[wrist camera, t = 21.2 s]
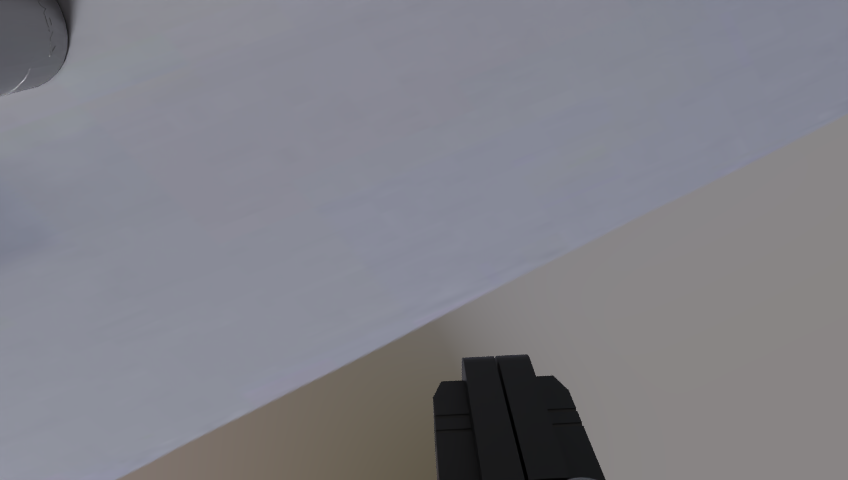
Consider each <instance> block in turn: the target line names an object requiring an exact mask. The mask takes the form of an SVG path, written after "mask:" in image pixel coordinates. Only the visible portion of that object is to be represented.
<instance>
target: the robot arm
mask: <svg viewBox="0 0 848 480" xmlns="http://www.w3.org/2000/svg"><path fill="white" fill-rule="evenodd" d="M67 42H68V35H67V29H66V23H65V20H64V17H63V14H62V11H61V9H60V7H59V5H58V3H57V1H56V0H0V96H4V95H7V94H11V93H15V92H19V91H23V90H27V89H30V88H34V87H38V86H40V85H42V84H44V83H46V82H48V81H49V80H50V79H51V78H52V77H53V76H55V75H56V74H57V73H58V71H59V69H60V68H61V66H62V64H63V63H64V59H65V56H66V52H67ZM433 405H434V406H433V407H434V431H435V432H434V433H435V452H436V453H435V454H436V468H437V480H605V477H604V475H603V473H602V470H601V468H600V465H599V463H598V460H597V458H596V456H595V453H594V451H593V448H592V446H591V443H590V441H589V439H588V436H587V434H586V431H585V429H584V426H582V422H581V419H580V417H579V414H578V412H577V411H576V407H575V405H574V402H573V400H572V397H571V395H570V393H569V390H568V389H567V388H566V387H564V386H563V385H562V384H561V383H560V382H559V381H558V380H557V379H556V378H555V377H554V376H537V377H536V375H535V372H534V369H533V367H532V364H531V361H530V358H529V356H528V355H505V356H496V357H495V358H494V356H490V357H489V356H488V357H469V358H462V381H443V382H441V383H440V385H439V387H438V389H437V391H436V393H435V395H434V397H433Z"/></svg>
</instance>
